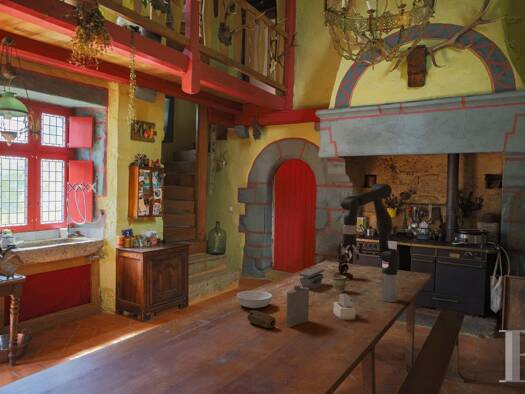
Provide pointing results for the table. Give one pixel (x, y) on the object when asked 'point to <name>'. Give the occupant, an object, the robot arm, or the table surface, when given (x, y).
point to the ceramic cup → (339, 283)
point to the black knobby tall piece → (344, 267)
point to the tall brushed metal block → (344, 301)
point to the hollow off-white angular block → (344, 312)
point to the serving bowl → (254, 299)
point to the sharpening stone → (311, 278)
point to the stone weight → (261, 319)
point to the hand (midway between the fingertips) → (349, 260)
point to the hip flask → (297, 306)
